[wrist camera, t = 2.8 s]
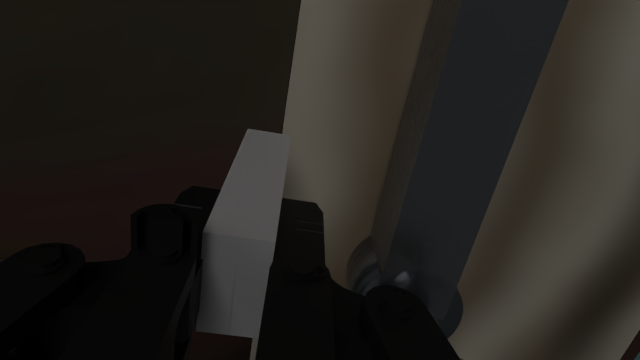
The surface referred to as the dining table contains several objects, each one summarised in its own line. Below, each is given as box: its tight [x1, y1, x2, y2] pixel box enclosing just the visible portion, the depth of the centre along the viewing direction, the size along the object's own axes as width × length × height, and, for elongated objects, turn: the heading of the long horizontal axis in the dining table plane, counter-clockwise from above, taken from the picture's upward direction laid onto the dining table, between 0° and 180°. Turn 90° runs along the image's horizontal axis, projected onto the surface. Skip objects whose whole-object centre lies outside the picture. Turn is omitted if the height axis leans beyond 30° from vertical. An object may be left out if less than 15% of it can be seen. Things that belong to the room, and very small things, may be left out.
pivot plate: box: [250, 0, 640, 360], centre depth 17 cm, size 20×25×9 cm
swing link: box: [347, 0, 569, 339], centre depth 16 cm, size 15×4×3 cm, turn 170°
